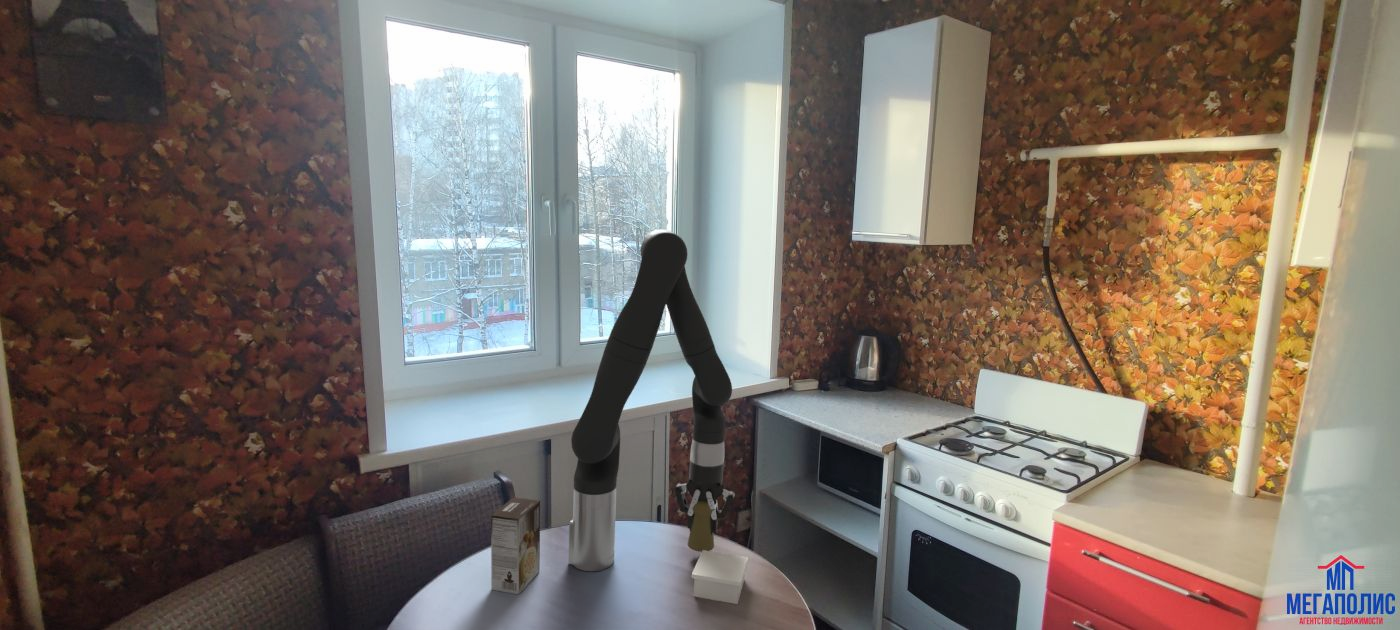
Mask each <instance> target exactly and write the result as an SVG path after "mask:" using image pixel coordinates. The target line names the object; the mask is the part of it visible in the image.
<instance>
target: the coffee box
mask: <svg viewBox="0 0 1400 630" xmlns="http://www.w3.org/2000/svg"><path fill="white" fill-rule="evenodd" d="M490 518H491V521H490V525H491V527H490V534H491V536H490V539H491V540H490V545H491V547H490V549H491V550H490V551H491V553H490V554H491V557H490V558H491V563H490V564H491V567H490V568H491V570H490V571H491V577H490V579H491V584H490V585H491V590H492V591H496V592H497V591H498V592H502V593H509V594H515V595H520V594H521V593H522V591H523V590H524V589H525V588H526V587H527V586H528V585H529V584H530V582H532V581H533V579H534V578H535V577H536V576H537V575H538V573H539V572H540V568H541V567H540V566H541V565H540V564H541V562H540V560H541V553H540V552H541V500H540V499H530V498H525V497H524V498H521V497H512V498H510V499H509V500H508V501H507V502H506V503H504V504H503V505H502V506H500V508H498V509H497V510H496V511H495V512H493V513H492V514H491V515H490Z"/></svg>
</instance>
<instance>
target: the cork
mask: <svg viewBox="0 0 1400 630" xmlns="http://www.w3.org/2000/svg"><path fill="white" fill-rule="evenodd" d="M714 504H715V503H714ZM693 512H694V518H693V524H692V528H691V531H690V530H689V537H688V541H687V546H688V548H689V549H691V550H692V551H696V552H701V553H702V550H706V551H712V550H713V549H714V548H715V541H714V534H713V535H711V528H710V519H712V517H711V514H712V510H711V509H710V506H709V505H708V502H705V501H697V503H696V504H695V505H694V507H693Z"/></svg>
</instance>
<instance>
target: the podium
mask: <svg viewBox="0 0 1400 630" xmlns="http://www.w3.org/2000/svg"><path fill="white" fill-rule="evenodd" d="M748 563H749V557H748V556H743V555H737V554H730V553H723V552H716V551H712V550H710V551H706V550H702V552H701V553H700V554H699V557H698V559H697V561H696V564H695V566H694V568H693V570H692V573H691V579H693V580H694V581H693V582H694V583H693V597H696V598H699V599H700V598H701V599H706V600H712V601H717V602H718V601H719V602H723V603H728V604H735V605H738V603H739V600H740V596H741V593H742V589H743V586H744V582H745V577H746V576H745V575H746V570H747V566H748Z"/></svg>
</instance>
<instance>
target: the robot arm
mask: <svg viewBox="0 0 1400 630" xmlns="http://www.w3.org/2000/svg"><path fill="white" fill-rule="evenodd" d="M640 257H641V261H640V266H639V270H638V272H637V276H636V279H635V283H634V286H633V289H632V292H631V294H630V295H629V297H628V300H627V301H626V303H624V304H625V305H624V306H623V307H622V309H621V311H620V312H619V314H618V317H617V319H616V320H615V322H614V324H613V326H612V329H611V331H610V334H609V336H608V339H607V342H606V343H605V344H606V345H605V347H604V350H603V352H602V353H603V354H602V357H601V360H600V363H599V366H598V369H597V373H596V375H595V380H594V383H593V387H592V391H591V392H590V393H591V394H590V397H589V398H588V401H587V403H586V405H585V408H584V409H583V411H582V414H581V416H580V417H579V420H578V422H577V424H576V426H575V427H574V429H573V432H572V435H571V439H570V440H571V442H570V443H571V449H572V451H573V454H574V455H575V457H576V458H577V463H576V467H575V471H574V476H573V500H572V501H573V503H572V504H573V505H572V507H573V508H572V519H571V520H570V521H569V524H568V557H567V558H568V563H567V564H568V565H571V566H574V567H575V569H578V570H580V571H583V572H584V571H585V572H599V571H602V570H605V569H607V568H610V566H612V565H613V563H614V561H615V545H616V544H615V543H616V511H617V510H616V508H617V481H618V473H619V468H620V453H621V427H620V424H619V423H620V419H621V416H622V414H623V411H624V408H625V405H626V404H627V402H628V400H629V398H630V396H631V394H632V393H633V391H634V389H635V387H636V386H637V383H638V382H639V381H640V378H641V376H642V374H643V371H644V369H645V368H646V364H648V363H647V362H648V360H649V357H650V355H651V353H652V349H653V347H654V343H655V341H656V338H657V335H658V331H659V328H660V325H661V321H662V319H663V314H664V312H665V308H667V311H668V314H669V317H670V321H671V324H672V326H673V330H674V333H675V336H676V339H677V341H678V344H679V347H680V350H681V352H682V354H683V357H684V360H685V362H686V363H687V365H688V366H689V367H690V368H691V370H692V372H693V375H694V378H693V381H692V387H691V397H692V398H691V399H692V410H693V418H694V419H693V420H694V421H693V429H692V430H693V431H692V432H693V433H692V440H691V446H690V458H689V460H690V461H689V470H688V471H689V472H688V473H689V475H688V481H687V482H686V483H681V482H678V483H677V484H676V486H675V487H674V492H675V495H676V499H677V503H678V506H679V507H678V508H679V510H680V512H681V513H685V514H686V515H687V524H686V525H687V529H689V532H690V531H691V528H692V524H693V518H694V512H693V507H694V505H695V504H696V503H697V501H705V502H708V505H709V506H710V509H711V510H712V514H711V517H712V519H710V528H711V535H713V536H714V533H716V532H717V529H718V523H719V522H718V520H719V519H724V518H725V517H726V515H727V513H728V510H729V508H730V506H731V505H732V502H733V500H734V498H735V495H736V493H735V491H734V490H728V489H725V487H724V485H723V478H724V464H725V458H726V457H725V456H726V455H725V452H726V451H725V449H726V448H725V435H726V433H725V432H726V418H725V416H724V414H723V412H722V406H724V405H725V404H727V403H728V402H729V401H730V399H731V397H732V393H733V385H732V382H731V378H730V376H729V374H728V372H727V370H726V367H725V366H724V364H723V362H722V360H721V358H720V356H719V355H718V353H717V350H716V346H715V343H714V341H713V338H712V335H711V332H710V329H709V326H708V325H707V322H706V319H705V317H704V315H703V313H702V311H701V309H700V306H699V305H698V302H697V300H696V297H695V295H694V294H693V290H692V287H691V285H690V281H689V279H688V275H687V271H686V264H687V260H688V248H687V245H686V243H685V241H684V239H683V238H682V237H681V236H679V235H678V234H676V233H675V232H673V231H672V230H667V229H656V230H651V232H649V233H648V234H647V235H646V236H645V237H644V239H643V241H642V243H641V245H640ZM686 492H688V493H689V494H690V496H691V498H692V499H691V503H690V504H688V501H687V497H686ZM721 495H723V500H724V501H725V502H724V504H723V507H722V508H721V509H720V510H719V507H718V499H719V498H720V496H721ZM714 503H715V504H714Z"/></svg>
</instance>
